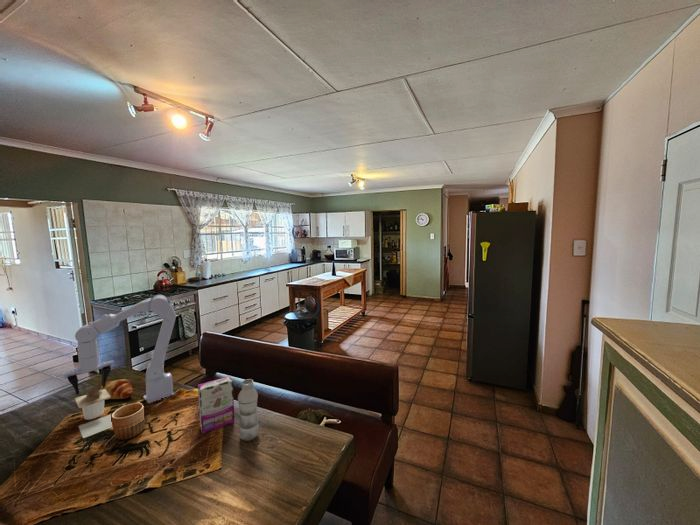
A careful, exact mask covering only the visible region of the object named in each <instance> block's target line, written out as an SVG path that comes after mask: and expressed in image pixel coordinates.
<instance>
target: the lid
mask: <svg viewBox="0 0 700 525" xmlns="http://www.w3.org/2000/svg"><path fill="white" fill-rule="evenodd" d="M109 398H111V396H110V395H109V393H108V392H107V391H106V389H103V390H100V388H99V387H98V385H97V384H95V385H91V386H88V387H85V394H84V395H81V396H78V397H77V396H76V397H75V398H74V400H75V403H76V404H77V407H78V409H82V407H85V406H88V405H91V404H94V403H97V402H100V401H103V400H104V401H105V400H110V399H109Z"/></svg>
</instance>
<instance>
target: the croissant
mask: <svg viewBox="0 0 700 525" xmlns="http://www.w3.org/2000/svg"><path fill="white" fill-rule="evenodd" d="M103 389H106V391H107V392H108V393H109V395H110V396H111V398H109V399H108V400H123V399H128V398H130V397H132V396H133V394H134V389H133V387H132V384H131V381H130V380H128V379H126V378H125V379H124V378H123V379H117V380H112V381H111V380H109V381H106V384H105V386H104V387H103V386H102V385H101V386H100V388H99V391H100V390H103Z"/></svg>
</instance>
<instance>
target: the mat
mask: <svg viewBox="0 0 700 525" xmlns="http://www.w3.org/2000/svg"><path fill="white" fill-rule="evenodd" d="M111 414H112V413H111ZM111 414H108V415H104V416H102V417H100V418H97V419H94V420H90V421H88V422H86V423H83V424H80V425H78V426H77V427H78V429H79V432H80V435H81V437H82V439H85V438H88V437H91V436H93V435H95V434H98V433H101V432H103V431H107V430H108V429H111V428H113V427H112V422H111Z"/></svg>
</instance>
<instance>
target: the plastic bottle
mask: <svg viewBox="0 0 700 525" xmlns="http://www.w3.org/2000/svg"><path fill="white" fill-rule="evenodd" d="M254 385H255V384H254V379H251V378H247V379H244V380H242V382H241V390H240V392H239V393H238V395H237V403H238V408H239V417H240V418H239V426H238V436H239V438H240V439H241V440H242V441H244V442H245V441H246V442H249V441H252V440H254V439H255V438H257V437H258V435H259V432H260V425H259V422H258V421H259V420H258V414H257V409H258V399H259V398H258V397H259V393H258V391H257V390H256V389H255V388H254Z"/></svg>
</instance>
